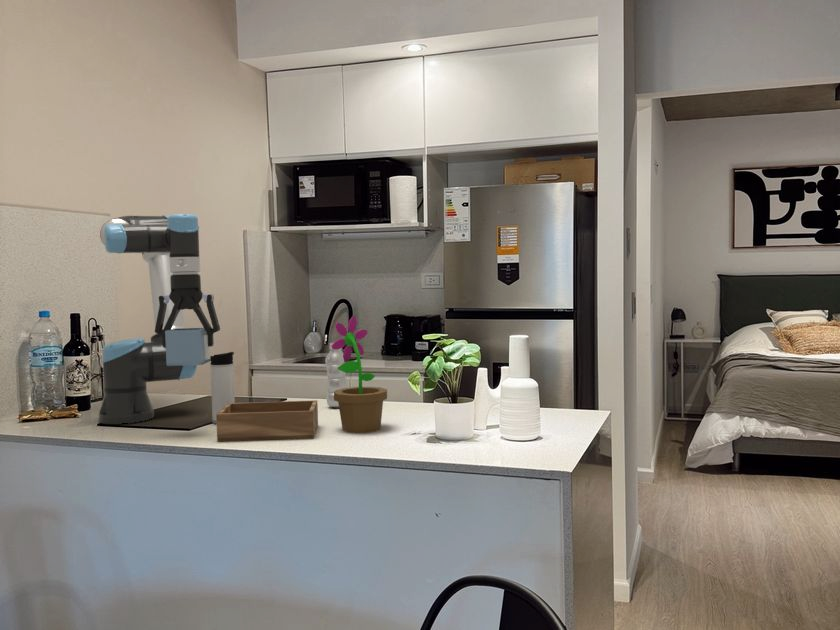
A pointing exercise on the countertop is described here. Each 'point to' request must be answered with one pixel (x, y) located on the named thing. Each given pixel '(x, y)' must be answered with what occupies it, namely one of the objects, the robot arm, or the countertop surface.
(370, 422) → the flowerpot
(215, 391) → the travel mug
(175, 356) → the slate crate
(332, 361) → the plastic bottle
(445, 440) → the countertop surface
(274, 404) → the walnut crate
